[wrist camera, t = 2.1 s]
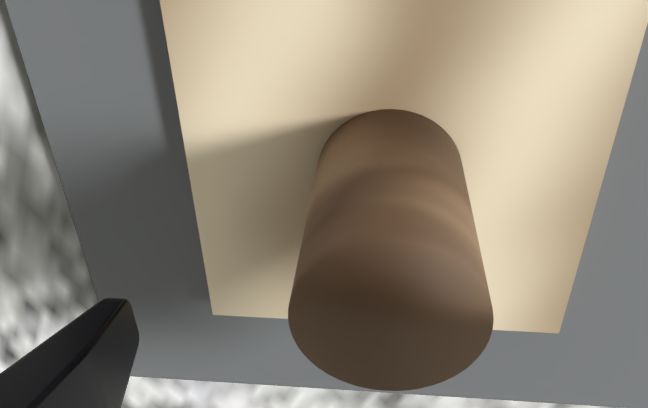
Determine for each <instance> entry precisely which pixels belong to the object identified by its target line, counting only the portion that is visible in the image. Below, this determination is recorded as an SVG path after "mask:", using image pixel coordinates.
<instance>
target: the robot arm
mask: <svg viewBox="0 0 648 408" xmlns="http://www.w3.org/2000/svg"><path fill="white" fill-rule="evenodd" d="M138 345H139V330H138V326H137V323H136V319H135V315H134V312H133V308H132V305H131V303H130V301H129V300H127V299H123V298H105V299H103V300H101V301H99V302H98V303H97V304H95V305H94V306H93V307H91V308H90V309H88V310H87V311H86V312H84V313H83V314H82V315H80V316H79V317H77V318H76V319H75V320H73V321H72V322H71V323H69V324H68V325H66V326H65V327H64V328H62V329H61V330H60V331H58V332H57V333H55V334H54V335H53V336H51V337H50V338H49V339H47V340H46V341H44V342H43V343H42V344H40V345H39V346H38V347H36V348H35V349H33V350H32V351H31V352H29V353H28V354H27V355H25V356H24V357H22V358H21V359H20V360H18V361H17V362H16V363H14V364H13V365H11V366H10V367H9V368H7V369H6V370H5V371H3V372H2V373H0V408H121V405H122V402H123V398H124V395H125V391H126V388H127V384H128V381H129V377H130V374H131V370H132V367H133V363H134V360H135V356H136V353H137V349H138Z"/></svg>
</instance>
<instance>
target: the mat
mask: <svg viewBox="0 0 648 408" xmlns="http://www.w3.org/2000/svg"><path fill="white" fill-rule="evenodd" d="M5 3H6V7H7V10H8V13H9V16H10V19H11V23H12V26H13V29H14V32H15V36H16V39H17V42H18V45H19V48H20V52H21V55H22V58H23V61H24V64H25V68H26V71H27V74H28V77H29V80H30V84H31V87H32V90H33V93H34V96H35V100H36V103H37V106H38V109H39V112H40V116H41V119H42V122H43V125H44V129H45V132H46V135H47V138H48V141H49V145H50V148H51V151H52V154H53V157H54V161H55V164H56V167H57V170H58V173H59V177H60V180H61V183H62V186H63V189H64V193H65V196H66V199H67V202H68V206H69V209H70V212H71V215H72V218H73V222H74V225H75V228H76V231H77V234H78V238H79V241H80V244H81V247H82V250H83V254H84V257H85V260H86V263H87V266H88V270H89V273H90V276H91V279H92V282H93V286H94V289H95V292H96V295H97V299H98V302H99V301H101V300H103V299H105V298H123V299H127V300H129V301H130V303H131V305H132V308H133V312H134V315H135V319H136V323H137V326H138V330H139V345H138V349H137V353H136V356H135V360H134V363H133V367H132V370H131V374H130V376H136V377H152V378H167V379H183V380H199V381H214V382H230V383H246V384H262V385H277V386H293V387H309V388H324V389H340V390H356V391H371V392H387V393H403V394H418V395H434V396H450V397H466V398H481V399H497V400H513V401H528V402H544V403H560V404H575V405H591V406H607V407H623V408H648V24H647V27H646V31H645V34H644V38H643V41H642V45H641V48H640V52H639V55H638V59H637V62H636V66H635V69H634V73H633V76H632V80H631V83H630V87H629V90H628V94H627V97H626V101H625V104H624V108H623V111H622V115H621V118H620V122H619V125H618V129H617V132H616V136H615V139H614V143H613V146H612V150H611V153H610V157H609V160H608V164H607V167H606V171H605V174H604V178H603V181H602V185H601V188H600V192H599V195H598V199H597V202H596V206H595V209H594V213H593V216H592V220H591V223H590V227H589V230H588V234H587V237H586V241H585V244H584V248H583V251H582V255H581V258H580V262H579V265H578V269H577V272H576V276H575V279H574V283H573V286H572V290H571V293H570V297H569V300H568V304H567V307H566V311H565V314H564V318H563V321H562V325H561V328H560V332H559V333H543V332H524V331H505V330H492V333H491V337H490V340H489V342H488V344H487V346H486V348H485V349H484V351H483V352H482V353H481V355H480V356H479V357H478V358H477V359H476V360H475V361H474V362H473V364H471V365H470V366H469V367H468V368H466V369H465V370H464V371H462V372H461V373H459V374H458V375H456V376H454V377H452V378H450V379H448V380H446V381H444V382H441V383H438V384H435V385H432V386H428V387H424V388H420V389H414V390H404V391H383V390H373V389H368V388H363V387H359V386H355V385H352V384H348V383H346V382H343V381H341V380H338V379H336V378H334V377H332V376H330V375H328V374H327V373H325V372H324V371H322V370H321V369H319V368H318V367H317V366H315V365H314V364H313V363H312V362H310V361H309V359H308V358H307V357H306V356H305V355H304V354H303V353H302V352H301V350H300V349H299V348H298V346H297V344H296V343H295V341H294V339H293V337H292V334H291V331H290V328H289V322H288V319H281V318H262V317H244V316H225V315H213V313H212V307H211V301H210V295H209V289H208V283H207V277H206V272H205V266H204V260H203V254H202V248H201V242H200V236H199V230H198V224H197V218H196V212H195V207H194V201H193V195H192V189H191V183H190V177H189V171H188V165H187V159H186V153H185V147H184V141H183V136H182V130H181V124H180V118H179V112H178V106H177V100H176V94H175V88H174V82H173V76H172V71H171V65H170V59H169V53H168V47H167V41H166V35H165V29H164V23H163V17H162V11H161V6H160V0H5Z"/></svg>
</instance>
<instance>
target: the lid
mask: <svg viewBox="0 0 648 408" xmlns="http://www.w3.org/2000/svg"><path fill="white" fill-rule="evenodd" d="M160 6H161V11H162V17H163V23H164V29H165V35H166V41H167V47H168V53H169V59H170V65H171V71H172V76H173V82H174V88H175V94H176V100H177V106H178V112H179V118H180V124H181V130H182V136H183V141H184V147H185V153H186V159H187V165H188V171H189V177H190V183H191V189H192V195H193V201H194V207H195V212H196V218H197V224H198V230H199V236H200V242H201V248H202V254H203V260H204V266H205V272H206V277H207V283H208V289H209V295H210V301H211V307H212V313H213V315H225V316H244V317H262V318H281V319H288V322H289V328H290V331H291V334H292V337H293V339H294V341H295V343H296V344H297V346H298V348H299V349H300V350H301V352H302V353H303V354H304V355H305V356H306V357H307V358H308V359H309V361H310V362H312V363H313V364H314V365H315V366H317V367H318V368H319V369H321V370H322V371H324V372H325V373H327V374H328V375H330V376H332V377H334V378H336V379H338V380H341V381H343V382H346V383H348V384H352V385H355V386H359V387H363V388H368V389H373V390H383V391H404V390H414V389H420V388H424V387H428V386H432V385H435V384H438V383H441V382H444V381H446V380H448V379H450V378H452V377H454V376H456V375H458V374H459V373H461V372H462V371H464V370H465V369H466V368H468V367H469V366H470V365H471V364H473V362H474V361H475V360H476V359H477V358H478V357H479V356H480V355H481V353H482V352H483V351H484V349H485V348H486V346H487V344H488V342H489V340H490V337H491V333H492V330H505V331H524V332H543V333H559V332H560V328H561V325H562V321H563V318H564V314H565V311H566V307H567V304H568V300H569V297H570V293H571V290H572V286H573V283H574V279H575V276H576V272H577V269H578V265H579V262H580V258H581V255H582V251H583V248H584V244H585V241H586V237H587V234H588V230H589V227H590V223H591V220H592V216H593V213H594V209H595V206H596V202H597V199H598V195H599V192H600V188H601V185H602V181H603V178H604V174H605V171H606V167H607V164H608V160H609V157H610V153H611V150H612V146H613V143H614V139H615V136H616V132H617V129H618V125H619V122H620V118H621V115H622V111H623V108H624V104H625V101H626V97H627V94H628V90H629V87H630V83H631V80H632V76H633V73H634V69H635V66H636V62H637V59H638V55H639V52H640V48H641V45H642V41H643V38H644V34H645V31H646V27H647V24H648V0H160Z"/></svg>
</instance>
